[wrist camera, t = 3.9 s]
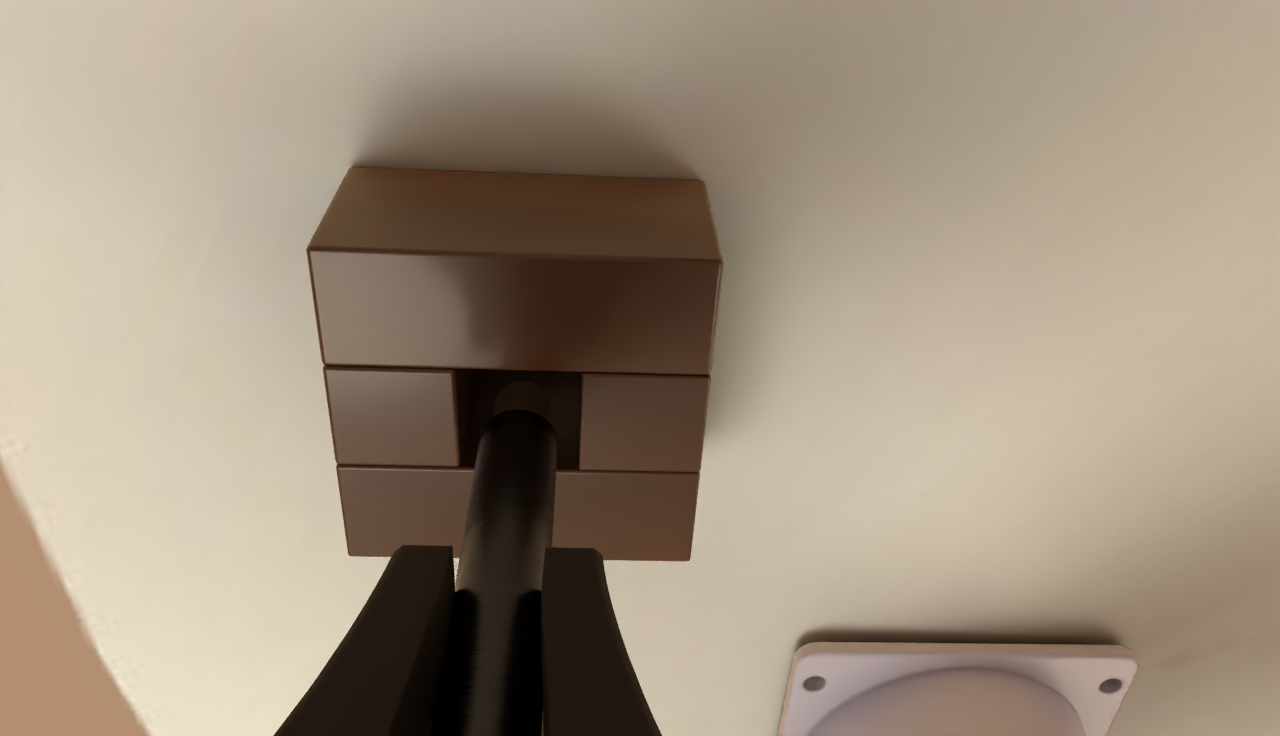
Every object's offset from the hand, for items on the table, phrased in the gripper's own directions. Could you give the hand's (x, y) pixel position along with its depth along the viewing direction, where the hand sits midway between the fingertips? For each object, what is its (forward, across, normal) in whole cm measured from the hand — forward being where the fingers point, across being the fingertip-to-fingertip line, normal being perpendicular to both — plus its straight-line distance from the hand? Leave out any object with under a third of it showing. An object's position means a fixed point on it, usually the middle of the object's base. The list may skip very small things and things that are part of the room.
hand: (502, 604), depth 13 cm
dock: (+7, 0, 0) cm, 7 cm away
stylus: (+4, 0, 0) cm, 4 cm away
